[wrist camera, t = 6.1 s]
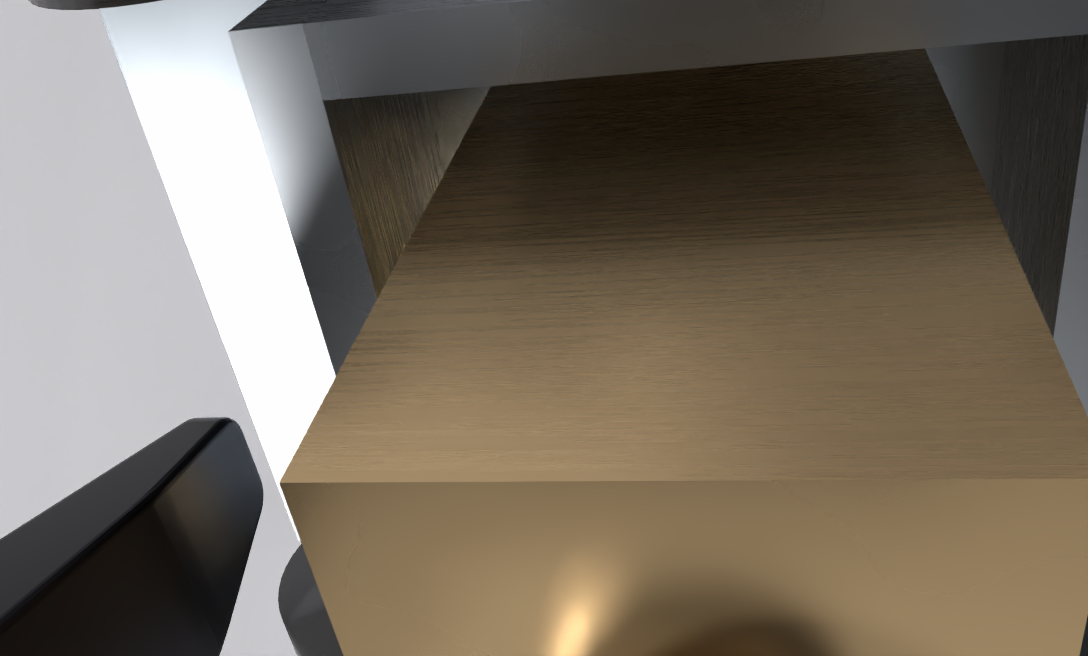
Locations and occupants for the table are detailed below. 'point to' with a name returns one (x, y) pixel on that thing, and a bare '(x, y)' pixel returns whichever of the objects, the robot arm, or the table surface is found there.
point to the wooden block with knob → (704, 388)
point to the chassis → (447, 112)
